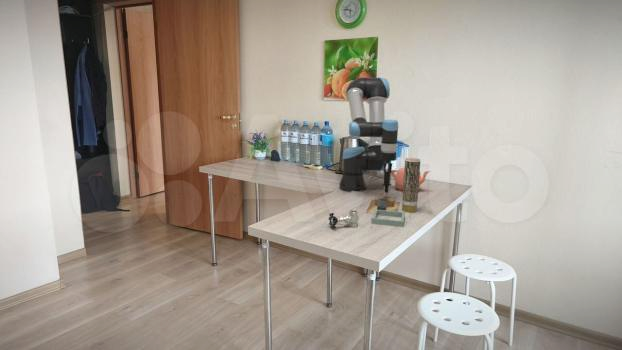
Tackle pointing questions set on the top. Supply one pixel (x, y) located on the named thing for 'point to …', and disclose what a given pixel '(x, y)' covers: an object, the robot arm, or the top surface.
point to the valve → (345, 219)
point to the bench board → (396, 206)
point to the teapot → (400, 178)
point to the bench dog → (382, 204)
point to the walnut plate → (389, 200)
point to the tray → (387, 221)
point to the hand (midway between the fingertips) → (386, 198)
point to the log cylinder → (411, 185)
